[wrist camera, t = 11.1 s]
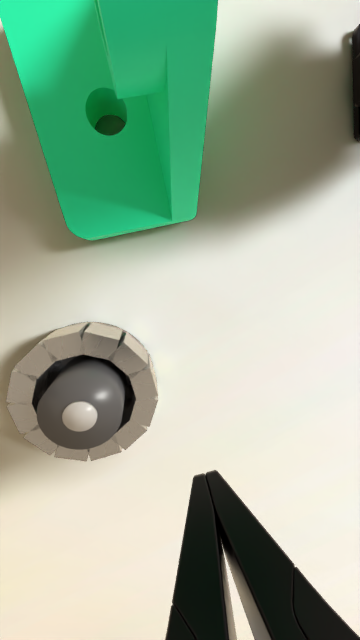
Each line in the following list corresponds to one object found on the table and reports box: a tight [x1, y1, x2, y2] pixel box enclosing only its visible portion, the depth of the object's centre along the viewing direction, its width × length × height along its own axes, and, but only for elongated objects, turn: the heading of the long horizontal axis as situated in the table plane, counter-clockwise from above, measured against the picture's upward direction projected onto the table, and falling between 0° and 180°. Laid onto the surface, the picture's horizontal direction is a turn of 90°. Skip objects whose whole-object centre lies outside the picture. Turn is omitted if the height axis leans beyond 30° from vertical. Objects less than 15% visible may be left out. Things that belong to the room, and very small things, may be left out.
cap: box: [37, 354, 127, 450], centre depth 17 cm, size 5×5×4 cm
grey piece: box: [6, 322, 158, 461], centre depth 18 cm, size 10×10×3 cm
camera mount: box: [0, 0, 218, 240], centre depth 10 cm, size 12×8×10 cm, turn 12°
